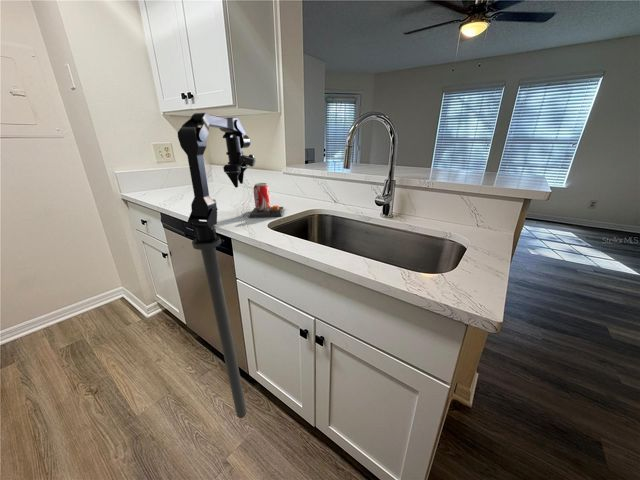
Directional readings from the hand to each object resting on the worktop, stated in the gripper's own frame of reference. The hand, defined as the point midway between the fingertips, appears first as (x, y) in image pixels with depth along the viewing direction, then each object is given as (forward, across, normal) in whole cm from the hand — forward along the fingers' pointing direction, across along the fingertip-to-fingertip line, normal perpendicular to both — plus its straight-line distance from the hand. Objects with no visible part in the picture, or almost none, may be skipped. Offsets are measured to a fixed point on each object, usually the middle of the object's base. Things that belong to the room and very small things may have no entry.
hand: (239, 185), depth 118 cm
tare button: (+10, -6, -16) cm, 20 cm away
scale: (+13, -2, -12) cm, 18 cm away
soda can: (+12, 0, -10) cm, 15 cm away
